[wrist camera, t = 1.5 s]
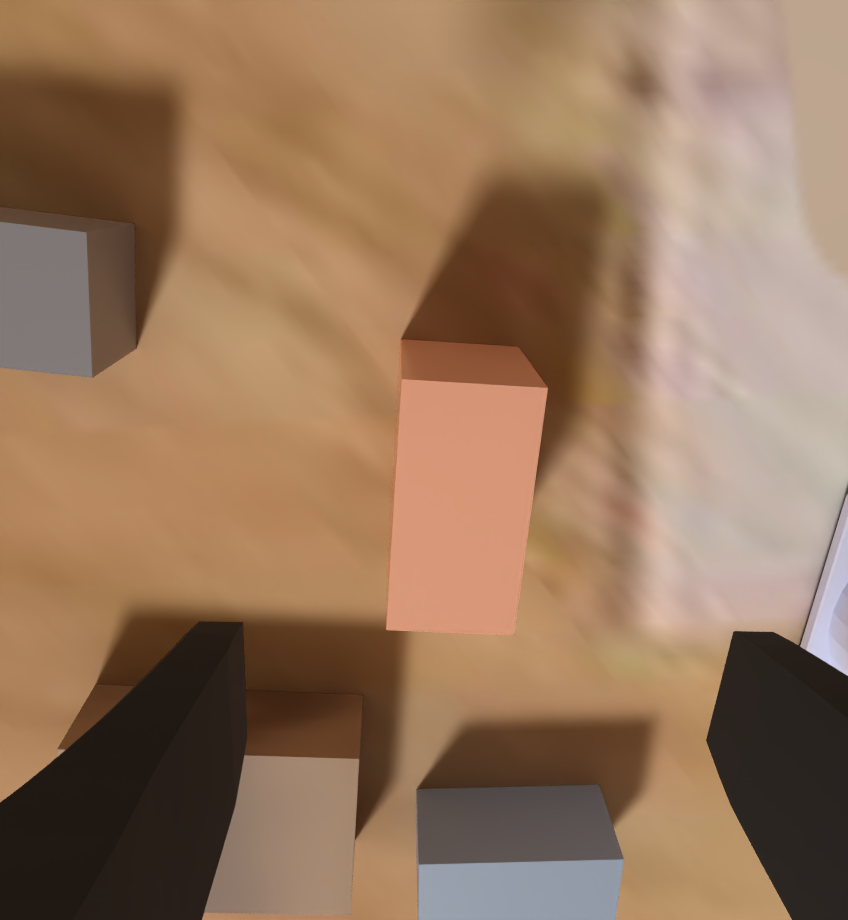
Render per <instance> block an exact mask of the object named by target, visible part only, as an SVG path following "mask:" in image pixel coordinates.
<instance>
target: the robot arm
mask: <svg viewBox="0 0 848 920" xmlns="http://www.w3.org/2000/svg"><path fill="white" fill-rule="evenodd" d="M706 741H707V744H708V747H709V749H710V752H711V755H712V758H713V760H714V763H715V766H716V769H717V771H718V774H719V777H720V779H721V782H722V784H723V787H724V789H725V792H726V794H727V797H728V799H729V802H730V804H731V807H732V808H733V810H734V812H735V814H736V816H737V818H738V820H739V822H740V824H741V826H742V828H743V830H744V831H745V833H746V835H747V837H748V839H749V841H750V843H751V845H752V847H753V848H754V850H755V852H756V854H757V856H758V858H759V860H760V862H761V863H762V865H763V867H764V869H765V871H766V873H767V874H768V876H769V878H770V880H771V882H772V884H773V885H774V887H775V889H776V891H777V893H778V895H779V896H780V898H781V900H782V902H783V904H784V906H785V907H786V909H787V911H788V913H789V915H790V917H791V918H792V920H848V494H847V496H846V498H845V502H844V505H843V508H842V511H841V515H840V518H839V521H838V525H837V528H836V531H835V534H834V538H833V541H832V544H831V547H830V551H829V554H828V557H827V560H826V564H825V567H824V570H823V574H822V577H821V580H820V583H819V587H818V590H817V593H816V596H815V600H814V603H813V606H812V609H811V613H810V616H809V619H808V623H807V626H806V629H805V632H804V636H803V639H802V642H801V645H800V646H798V645H796V644H795V643H793V642H791V641H789V640H788V639H786V638H784V637H782V636H780V635H778V634H776V633H774V632H742V631H734V632H733V636H732V640H731V644H730V648H729V652H728V656H727V660H726V664H725V668H724V672H723V676H722V680H721V684H720V688H719V692H718V696H717V700H716V704H715V708H714V711H713V715H712V719H711V723H710V727H709V731H708V735H707V739H706ZM246 743H247V713H246V688H245V663H244V638H243V622H198V623H197V624H196V625H195V626H194V627H193V628H192V629H191V630H190V631H189V632H188V633H187V634H186V635H185V636H184V637H183V638H182V639H181V640H180V641H179V642H178V643H177V644H176V645H175V646H174V647H173V648H172V649H171V650H170V651H169V652H168V653H167V654H166V655H165V656H164V657H163V658H162V659H161V660H160V662H159V663H158V664H157V665H156V666H155V667H154V668H153V669H152V670H151V671H150V672H149V673H148V674H147V675H146V676H145V677H144V678H143V679H142V680H141V681H140V682H139V683H138V684H137V685H136V686H135V687H133V688H132V689H131V690H130V691H129V692H128V693H127V694H126V695H125V696H124V697H123V698H122V699H121V700H120V701H119V702H118V703H117V704H116V705H115V706H114V707H113V708H112V709H111V710H110V711H108V712H107V713H106V714H105V715H104V716H103V717H102V718H101V719H100V720H99V721H98V722H97V723H96V724H95V725H93V726H92V727H91V728H90V729H89V730H88V731H87V732H85V733H84V734H83V735H82V736H81V737H80V738H79V739H77V740H76V741H75V742H74V743H73V744H72V745H70V746H69V747H68V748H67V749H66V750H65V751H64V752H62V753H61V754H60V755H59V756H58V757H57V758H56V759H54V760H53V761H52V762H51V763H50V764H49V765H47V766H46V767H45V768H44V769H43V770H41V771H40V772H39V773H38V774H36V775H35V776H34V777H33V778H32V779H30V780H29V781H28V782H27V783H25V784H24V785H23V786H22V787H20V788H19V789H18V790H16V791H15V792H14V793H13V794H11V795H10V796H9V797H7V798H6V799H4V800H3V801H2V802H0V920H202V917H203V914H204V911H205V907H206V904H207V901H208V897H209V894H210V890H211V887H212V884H213V880H214V877H215V874H216V870H217V867H218V864H219V860H220V857H221V853H222V850H223V847H224V843H225V840H226V836H227V833H228V830H229V826H230V823H231V819H232V816H233V812H234V809H235V805H236V799H237V794H238V789H239V783H240V778H241V772H242V766H243V760H244V754H245V748H246Z"/></svg>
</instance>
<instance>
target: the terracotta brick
mask: <svg viewBox="0 0 848 920" xmlns="http://www.w3.org/2000/svg"><path fill="white" fill-rule="evenodd" d="M547 391H548V387H547V386H546V385H545V383H544V382H543V380H542V379H541V378H540V376H539V375H538V373H537V372H536V371H535V369H534V368H533V366H532V365H531V364H530V362H529V361H528V359H527V358H526V357H525V355H524V354H523V352H522V351H521V350H520V348H519V347H516V346H500V345H484V344H469V343H453V342H437V341H422V340H406V339H401V343H400V359H399V376H398V393H397V409H396V426H395V442H394V459H393V475H392V492H391V508H390V525H389V541H388V570H387V613H386V630H397V631H422V632H446V633H471V634H496V635H514V632H515V625H516V617H517V610H518V603H519V595H520V588H521V581H522V574H523V566H524V559H525V552H526V544H527V537H528V530H529V523H530V515H531V508H532V501H533V493H534V486H535V479H536V472H537V464H538V457H539V450H540V442H541V435H542V428H543V421H544V413H545V406H546V399H547Z"/></svg>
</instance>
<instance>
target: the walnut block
mask: <svg viewBox="0 0 848 920" xmlns="http://www.w3.org/2000/svg"><path fill="white" fill-rule="evenodd" d="M133 687H135V686H127V685H101V684H96V685H95V686H94V688H93V690H92V691H91V693H90V695H89V696H88V698H87V700H86V702H85V703H84V705H83V707H82V708H81V710H80V712H79V713H78V715H77V717H76V718H75V720H74V722H73V724H72V725H71V727H70V729H69V730H68V732H67V734H66V735H65V737H64V739H63V740H62V742H61V744H60V746H59V747H58V749H57V752H58V756H59V755H60V754H61V753H62V752H64V751H65V750H66V749H67V748H68V747H69V746H70V745H72V744H73V743H74V742H75V741H76V740H77V739H79V738H80V737H81V736H82V735H83V734H84V733H85V732H87V731H88V730H89V729H90V728H91V727H92V726H93V725H95V724H96V723H97V722H98V721H99V720H100V719H101V718H102V717H103V716H104V715H105V714H106V713H107V712H108V711H110V710H111V709H112V708H113V707H114V706H115V705H116V704H117V703H118V702H119V701H120V700H121V699H122V698H123V697H124V696H125V695H126V694H127V693H128V692H129V691H130V690H131V689H132V688H133ZM362 706H363V695H357V694H331V693H306V692H280V691H254V690H246V713H247V743H246V748H245V754H244V760H243V766H242V772H241V778H240V783H239V789H238V794H237V799H236V805H235V809H234V812H233V816H232V819H231V823H230V826H229V830H228V833H227V836H226V840H225V843H224V847H223V850H222V853H221V857H220V860H219V864H218V867H217V870H216V874H215V877H214V880H213V884H212V887H211V890H210V894H209V897H208V901H207V904H206V907H205V911H204V912H207V913H261V914H315V915H350V914H351V897H352V881H353V864H354V848H355V830H356V813H357V795H358V777H359V759H360V742H361V724H362Z"/></svg>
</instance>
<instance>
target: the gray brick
mask: <svg viewBox="0 0 848 920" xmlns="http://www.w3.org/2000/svg"><path fill="white" fill-rule="evenodd" d="M136 348H137V347H136V287H135V228H134V223H126V222H118V221H110V220H102V219H94V218H86V217H78V216H70V215H62V214H54V213H46V212H38V211H30V210H22V209H14V208H6V207H0V368H8V369H18V370H27V371H36V372H45V373H54V374H63V375H72V376H81V377H91V378H93V377H94V376H96V375H97V374H99V373H100V372H102V371H103V370H105V369H106V368H108V367H109V366H111V365H112V364H114V363H115V362H117V361H118V360H120V359H121V358H123V357H124V356H126V355H127V354H129V353H130V352H132V351H133V350H135V349H136Z"/></svg>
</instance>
